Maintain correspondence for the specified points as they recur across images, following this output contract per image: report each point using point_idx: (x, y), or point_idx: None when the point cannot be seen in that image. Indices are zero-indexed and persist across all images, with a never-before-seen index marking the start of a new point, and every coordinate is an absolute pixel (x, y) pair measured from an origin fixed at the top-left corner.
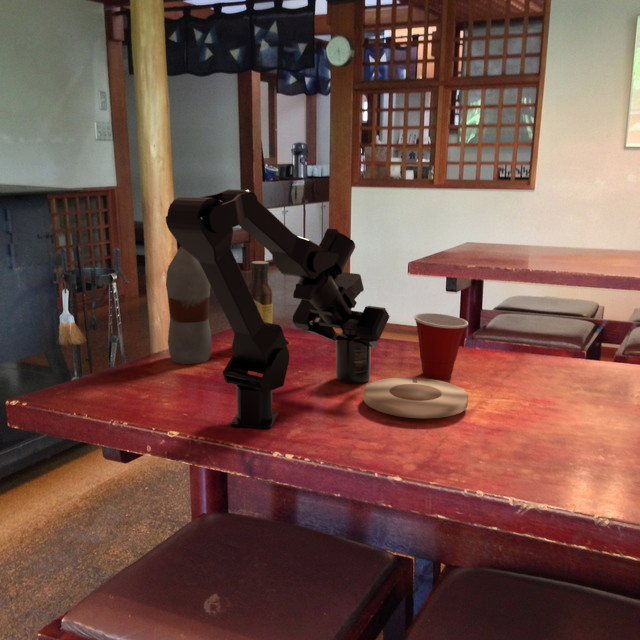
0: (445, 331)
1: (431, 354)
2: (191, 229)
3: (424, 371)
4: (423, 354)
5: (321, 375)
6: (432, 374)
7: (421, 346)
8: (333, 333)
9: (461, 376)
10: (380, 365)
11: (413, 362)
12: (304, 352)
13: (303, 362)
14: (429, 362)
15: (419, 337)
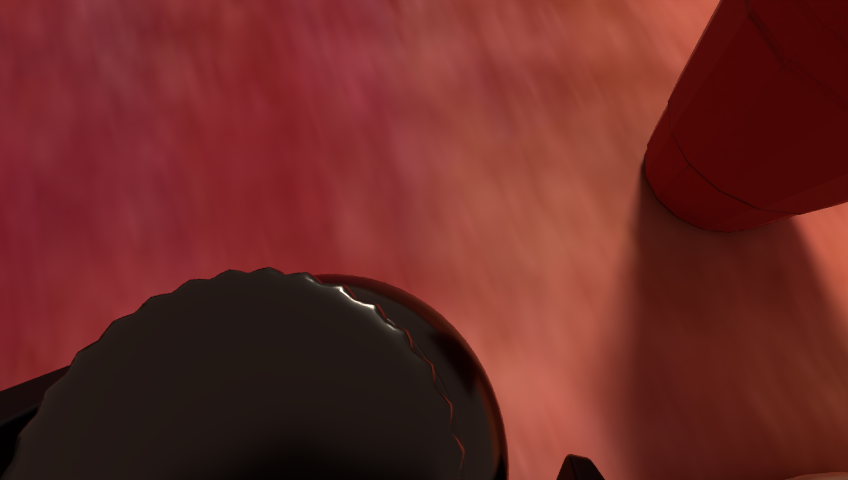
0: None
1: (826, 195)
2: None
3: (687, 210)
4: (750, 178)
5: None
6: (734, 228)
7: (769, 147)
8: None
9: None
10: (421, 137)
11: (535, 45)
12: (21, 88)
13: (39, 242)
14: (767, 210)
15: (792, 96)
